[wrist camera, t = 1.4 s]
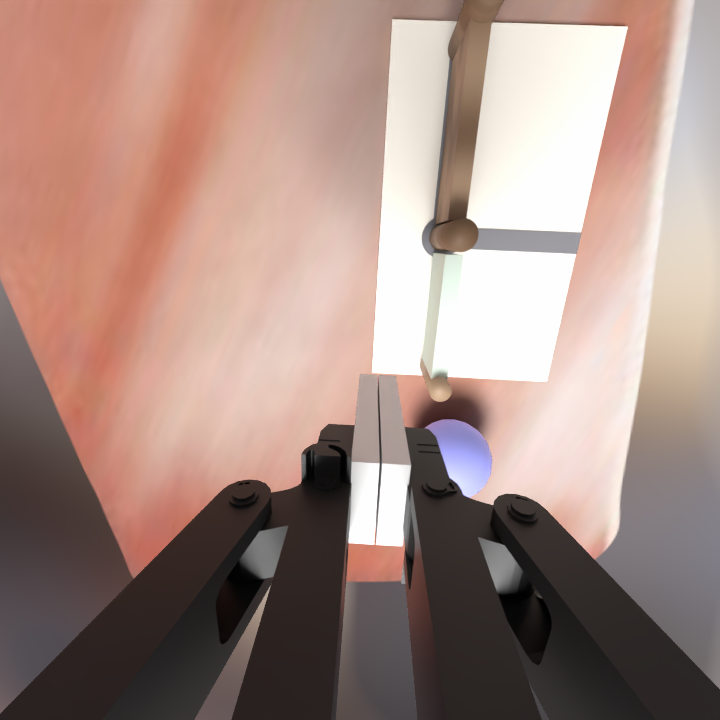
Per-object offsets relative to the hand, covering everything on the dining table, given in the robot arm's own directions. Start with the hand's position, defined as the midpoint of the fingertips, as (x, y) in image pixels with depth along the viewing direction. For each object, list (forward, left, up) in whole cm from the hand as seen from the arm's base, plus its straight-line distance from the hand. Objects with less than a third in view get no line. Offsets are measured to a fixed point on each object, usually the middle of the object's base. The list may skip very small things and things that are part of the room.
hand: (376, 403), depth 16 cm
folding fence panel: (-1, +5, -15) cm, 16 cm away
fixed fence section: (-14, +5, -16) cm, 22 cm away
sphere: (+11, +7, -17) cm, 21 cm away
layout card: (-9, +8, -16) cm, 20 cm away
